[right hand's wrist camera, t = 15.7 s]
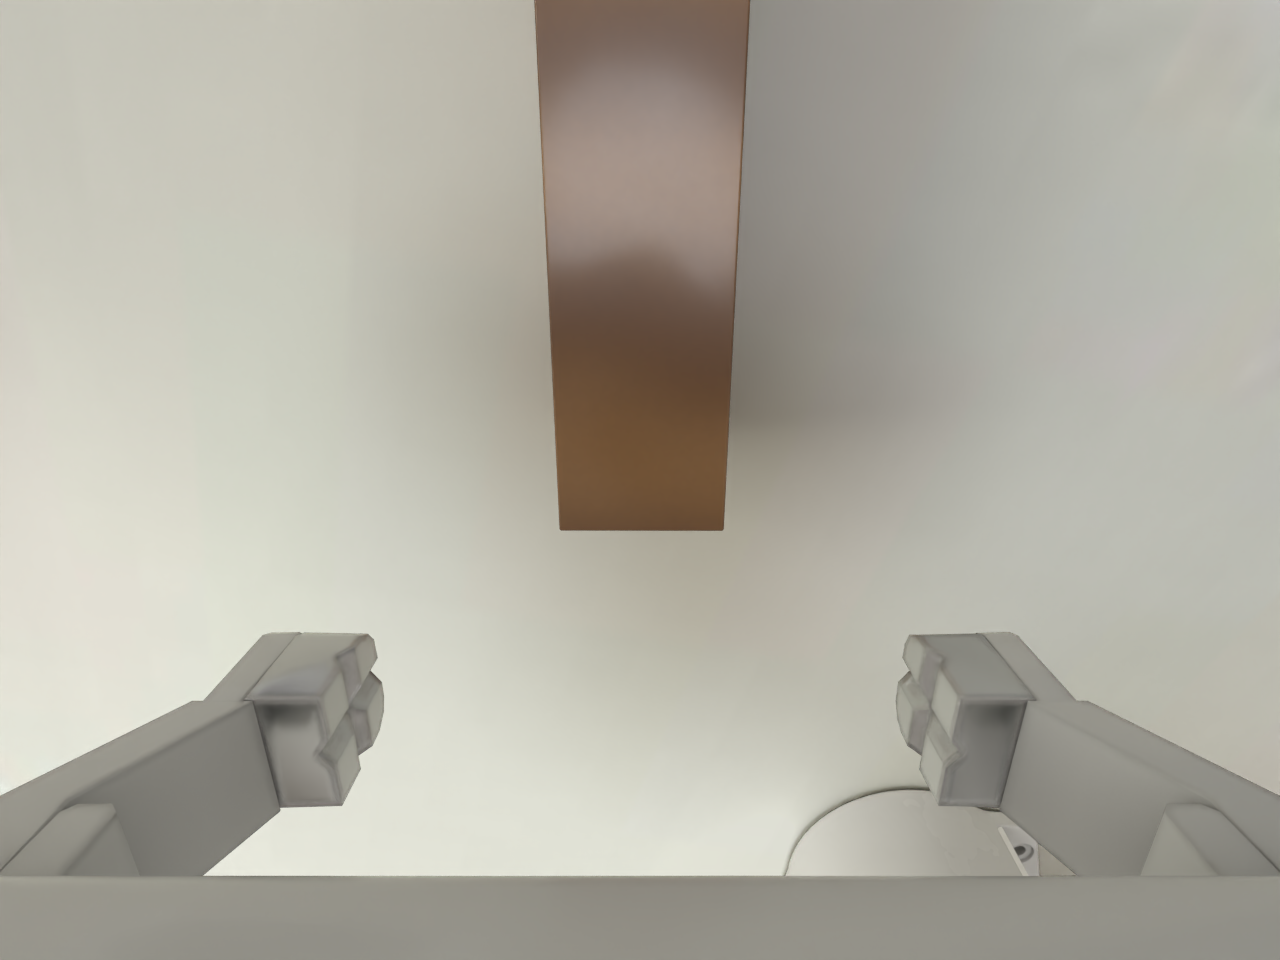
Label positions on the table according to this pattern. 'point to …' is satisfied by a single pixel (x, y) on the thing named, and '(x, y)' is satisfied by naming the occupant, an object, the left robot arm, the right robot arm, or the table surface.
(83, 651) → the table surface
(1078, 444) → the table surface
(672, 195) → the box
